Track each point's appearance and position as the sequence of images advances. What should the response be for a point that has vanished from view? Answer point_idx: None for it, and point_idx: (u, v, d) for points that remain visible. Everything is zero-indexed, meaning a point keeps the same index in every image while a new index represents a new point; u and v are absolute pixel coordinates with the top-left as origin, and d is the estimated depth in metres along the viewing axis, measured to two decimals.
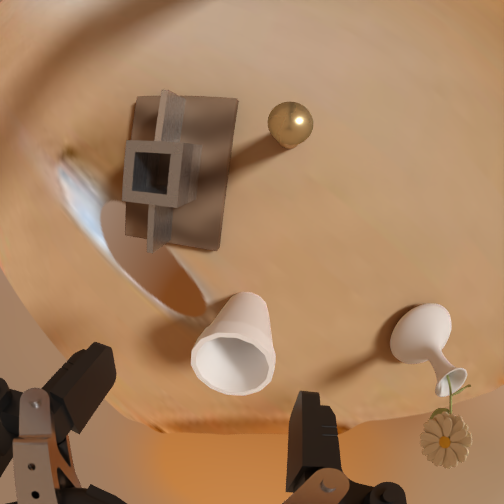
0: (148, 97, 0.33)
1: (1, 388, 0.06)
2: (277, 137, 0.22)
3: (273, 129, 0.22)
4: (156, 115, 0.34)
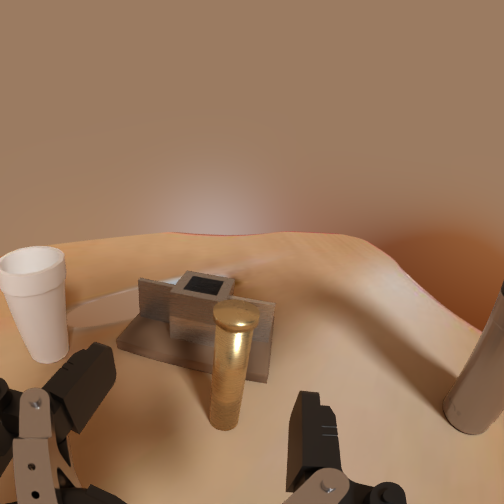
0: (272, 322, 0.44)
1: (1, 388, 0.06)
2: (221, 302, 0.23)
3: (230, 301, 0.23)
4: None
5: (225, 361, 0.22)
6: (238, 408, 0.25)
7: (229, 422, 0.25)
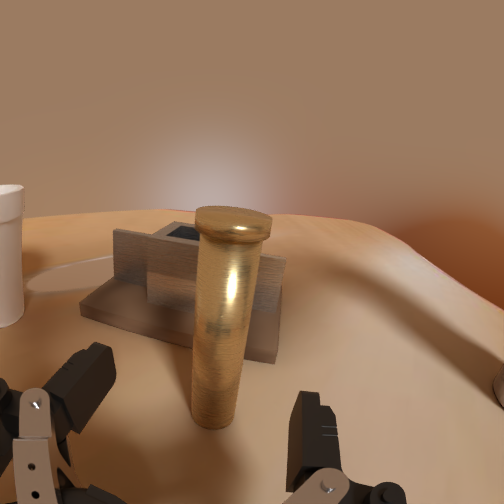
0: None
1: (1, 388, 0.06)
2: (210, 207, 0.14)
3: (224, 207, 0.15)
4: None
5: (212, 304, 0.13)
6: (234, 394, 0.16)
7: (220, 416, 0.16)
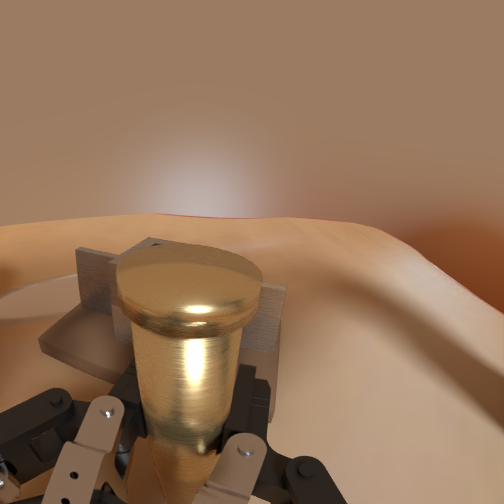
0: None
1: (63, 400, 0.07)
2: (153, 248, 0.08)
3: (178, 247, 0.08)
4: None
5: (162, 415, 0.07)
6: None
7: None
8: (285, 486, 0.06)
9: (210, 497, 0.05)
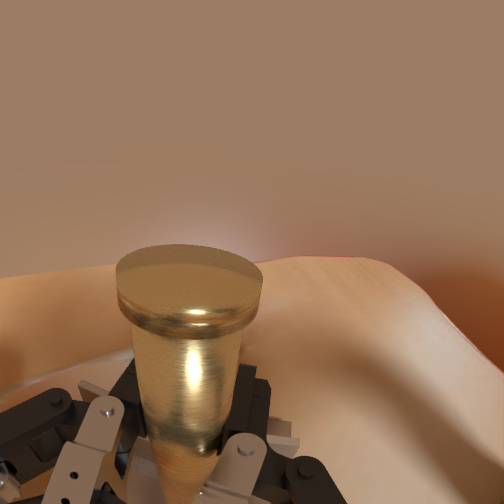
0: (288, 434, 0.25)
1: (63, 400, 0.07)
2: (153, 249, 0.08)
3: (178, 247, 0.08)
4: None
5: (162, 416, 0.07)
6: None
7: None
8: (285, 486, 0.06)
9: (210, 497, 0.05)
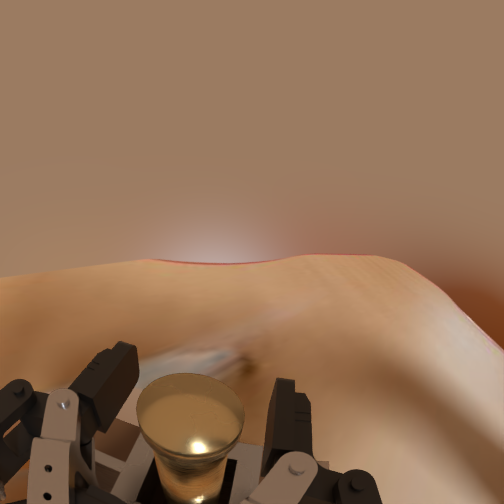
0: None
1: (25, 390, 0.07)
2: (160, 382, 0.09)
3: (179, 379, 0.10)
4: None
5: (175, 486, 0.08)
6: None
7: None
8: (337, 501, 0.06)
9: None
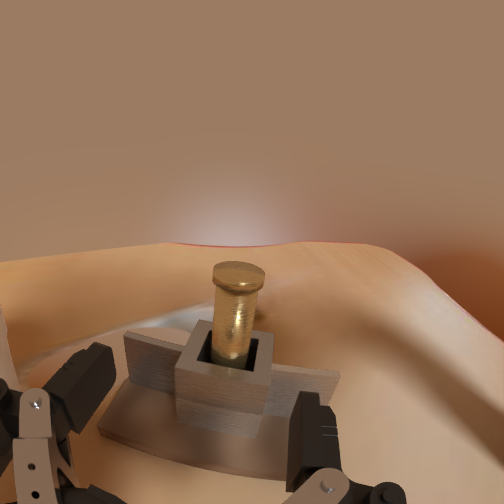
0: None
1: (1, 388, 0.06)
2: (222, 263, 0.21)
3: (231, 262, 0.21)
4: None
5: (226, 330, 0.20)
6: None
7: None
8: None
9: None
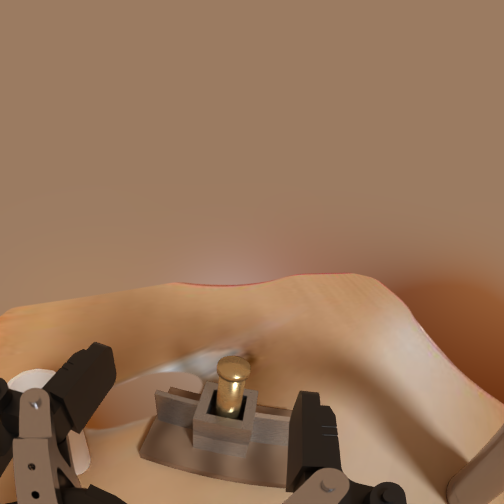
0: None
1: (1, 388, 0.06)
2: (223, 359, 0.31)
3: (229, 357, 0.31)
4: None
5: (226, 399, 0.30)
6: None
7: None
8: None
9: None
